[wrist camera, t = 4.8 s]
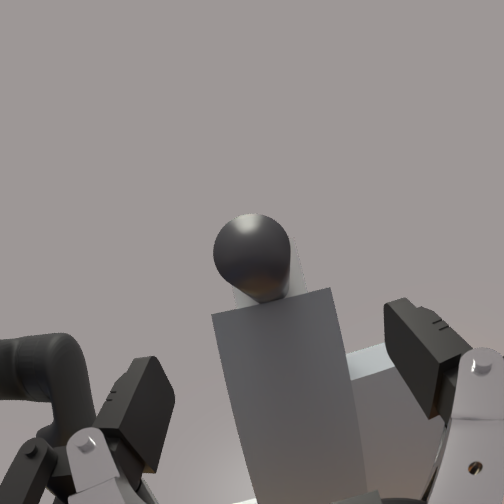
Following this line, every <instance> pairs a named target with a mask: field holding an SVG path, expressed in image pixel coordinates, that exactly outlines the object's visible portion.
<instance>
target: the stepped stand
mask: <svg viewBox="0 0 504 504" xmlns="http://www.w3.org/2000/svg"><path fill="white" fill-rule="evenodd" d="M211 316H212V321H213V325H214V331H215V335H216V340H217V345H218V350H219V354H220V359H221V363H222V368H223V372H224V377H225V381H226V386H227V390H228V394H229V398H230V402H231V406H232V411H233V415H234V419H235V423H236V427H237V431H238V435H239V438H240V442H241V446H242V450H243V454H244V457H245V461H246V465H247V468H248V472H249V475H250V479H251V482H252V486H253V489H254V493H255V496H256V499H257V503H258V504H331V503H333V502H337V501H341V500H344V499H348V498H352V497H355V496H359V495H362V494H365V493H369V492H372V491H375V490H378V492H379V495H380V499H383V498H411V499H418V500H420V497H421V495H422V492H423V490H424V487H425V485H426V482H427V480H428V477H429V475H430V472H431V469H432V466H433V463H434V459H435V456H436V453H437V449H438V446H439V442H440V438H441V434H442V430H443V426H444V423H445V422H444V421H443V419H442V418H441V416H440V415H439V416H436V417H434V418H432V419H430V420H428V418H427V417H426V415H425V413H424V412H423V410H422V408H421V407H420V405H419V404H418V402H417V400H416V399H415V397H414V395H413V394H412V392H411V391H410V389H409V387H408V386H407V384H406V383H405V381H404V379H403V378H402V376H401V375H400V373H399V372H398V370H397V368H396V367H395V365H394V364H393V362H392V361H391V359H390V357H389V356H388V353H387V350H386V346H385V342H384V343H381V344H378V345H375V346H372V347H368V348H365V349H362V350H359V351H355V352H352V353H348V354H345V349H344V345H343V340H342V335H341V331H340V326H339V322H338V318H337V313H336V309H335V305H334V301H333V297H332V292H331V289H330V287H329V288H325V289H321V290H317V291H313V292H309V293H305V294H301V295H297V296H293V297H288V298H284V299H280V300H276V301H271V302H267V303H262V304H258V305H253V306H249V307H244V308H240V309H235V310H230V311H225V312H221V313H216V314H211Z"/></svg>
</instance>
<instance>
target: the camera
mask: <svg viewBox="0 0 504 504" xmlns="http://www.w3.org/2000/svg"><path fill="white" fill-rule="evenodd" d="M213 256H214V262H215V265H216V267H217V270H218V271H219V273H220V275H221V276H222V277H223V278H224V279H225V280H226V281H227V282H229V283H230V284H231V285H232V288H233V293H234V298H235V303H236V308H237V309H240V308H244V307H249V306H253V305H258V304H262V303H267V302H271V301H276V300H280V299H284V298H288V297H293V296H297V295H301V294H305V293H308V291H307V287H306V283H305V279H304V275H303V272H302V267H301V263H300V259H299V255H298V251H297V247H296V243H295V240H294V238H290V239H289V238H288V236H287V234H286V232H285V231H284V229H283V228H282V227H281V225H280V224H279V223H277V222H276V221H275V220H273V219H272V218H269V217H267V216H264V215H260V214H246V215H242V216H239V217H236V218H234V219H233V220H231V221H230V222H228V223H227V224H226V225H225V226H224V227H223V228H222V229H221V231H220V232H219V234H218V236H217V238H216V240H215V244H214V250H213Z"/></svg>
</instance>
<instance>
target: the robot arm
mask: <svg viewBox="0 0 504 504" xmlns="http://www.w3.org/2000/svg"><path fill="white" fill-rule="evenodd" d="M384 332H385V346H386V350H387V353H388V356H389V357H390V359H391V361H392V362H393V364H394V365H395V367H396V368H397V370H398V372H399V373H400V375H401V376H402V378H403V379H404V381H405V383H406V384H407V386H408V387H409V389H410V391H411V392H412V394H413V395H414V397H415V399H416V400H417V402H418V404H419V405H420V407H421V408H422V410H423V412H424V413H425V415H426V417H427V418H428V420H430V419H432V418H434V417H436V416H439V415H440V416H441V418H442V419H443V421H444V422H445V423H444V426H443V430H442V434H441V438H440V442H439V446H438V449H437V453H436V456H435V459H434V463H433V466H432V469H431V472H430V475H429V477H428V480H427V482H426V485H425V487H424V490H423V492H422V495H421V497H420V500H418V499H411V498H383V499H380V495H379V492H378V490H375V491H372V492H369V493H365V494H362V495H359V496H355V497H352V498H348V499H344V500H341V501H337V502H333V503H331V504H502V500H503V496H504V356H503V357H502V356H501V355H500V353H498V352H497V351H495V350H493V349H490V348H475V349H473V348H472V347H471V346H470V345H469V344H468V343H467V342H466V341H465V340H464V339H462V337H460V336H459V335H458V334H457V333H456V332H455V331H454V330H453V329H452V328H451V327H449V325H448V324H447V323H446V322H445V321H442V319H441V318H440V317H439V316H438V315H437V314H436V313H435V312H434V311H432V310H429V309H426V308H424V307H422V306H421V307H419V308H416V307H415V306H414V305H413V304H412V303H411V302H410V301H409V300H408V299H407V298H401V299H398V300H395V301H392V302H389V303H386V304H385V305H384ZM110 392H111V393H110V394H109V395H108V397H107V399H106V401H105V403H104V404H103V406H102V408H101V410H100V412H99V414H98V416H97V418H96V414H95V409H94V405H93V400H92V395H91V389H90V383H89V377H88V371H87V366H86V362H85V358H84V355H83V352H82V350H81V348H80V346H79V344H78V343H77V341H76V340H75V339H74V338H73V337H72V336H71V335H69V334H66V333H52V334H43V335H34V336H26V337H21V338H16V339H4V340H0V400H27V401H34V402H51V403H52V409H53V417H54V421H53V423H52V424H51V425H48V426H46V427H44V428H42V429H40V430H39V431H38V432H37V434H36V438H32V439H30V440H28V441H27V442H25V443H24V444H23V445H22V446H21V448H20V450H19V451H18V453H17V455H16V457H15V458H14V461H13V462H12V464H11V466H10V468H9V469H8V472H7V473H6V475H5V477H4V479H3V481H2V483H1V485H0V504H39V502H40V499H41V496H42V494H43V492H44V489H45V488H46V489H47V490H49V491H50V492H51V493H52V494H53V495H55V496H56V497H55V499H54V502H53V504H159V503H158V502H157V500H156V498H155V496H154V495H153V494H152V491H151V490H150V488H149V486H148V485H147V483H146V482H145V480H143V478H142V473H156V471H157V468H158V464H159V459H160V456H161V452H162V448H163V444H164V441H165V437H166V433H167V430H168V426H169V422H170V418H171V415H172V412H173V408H174V404H175V395H174V391H173V388H172V386H171V384H170V382H169V380H168V378H167V376H166V374H165V373H164V370H163V368H162V366H161V364H160V362H159V361H158V359H157V358H156V357H155V356H149V357H142V358H135V359H134V360H133V361H132V363H131V365H130V367H129V369H128V371H127V373H124V374H123V375H122V376H121V377H120V378H119V379H118V380H117V381H116V382H115V384H114V386H113V387H112V389H111V391H110Z"/></svg>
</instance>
